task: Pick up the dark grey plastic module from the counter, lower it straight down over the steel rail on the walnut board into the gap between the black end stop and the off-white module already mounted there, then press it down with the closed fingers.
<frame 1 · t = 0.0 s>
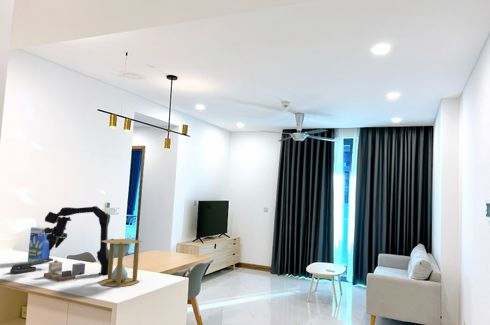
hand: (52, 248, 232), 15 cm above the worktop, tool pointing down, fingers open, 9 cm apart
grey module: (78, 273, 231), on the worktop
hourglass: (118, 282, 213), on the worktop
blue printed box: (38, 262, 262), on the worktop
dark grey stapler: (31, 271, 235), on the worktop
rail board: (59, 277, 220), on the worktop
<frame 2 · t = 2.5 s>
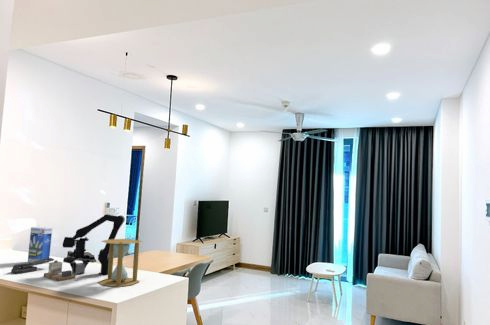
hand: (78, 271, 231), 1 cm above the worktop, tool pointing down, fingers closed on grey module, 6 cm apart
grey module: (78, 273, 231), on the worktop, touching gripper
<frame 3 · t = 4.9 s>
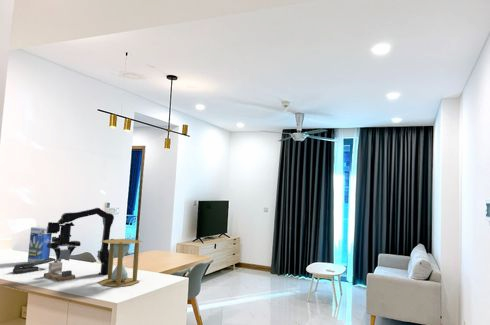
hand: (62, 258, 220), 12 cm above the worktop, tool pointing down, fingers closed on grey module, 6 cm apart
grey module: (62, 260, 220), point 11 cm above the worktop, touching gripper
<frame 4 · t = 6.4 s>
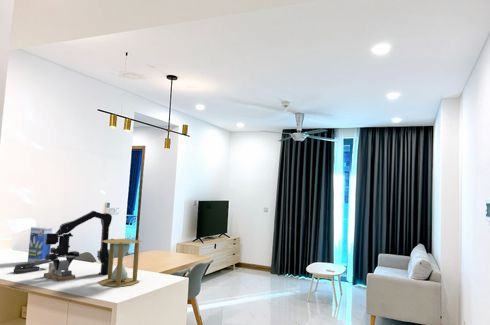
hand: (61, 269, 219), 5 cm above the worktop, tool pointing down, fingers closed on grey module, 6 cm apart
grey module: (61, 271, 219), point 4 cm above the worktop, touching gripper
when the fingers open (5 cm above the worktop, at t = 7.4 s): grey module drops 2 cm, resting on rail board.
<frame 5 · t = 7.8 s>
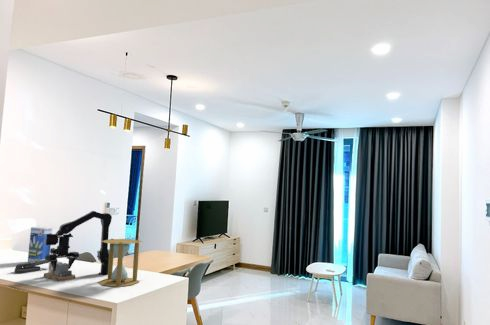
hand: (61, 270, 219), 5 cm above the worktop, tool pointing down, fingers open, 9 cm apart
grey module: (61, 274, 219), point 2 cm above the worktop, touching rail board
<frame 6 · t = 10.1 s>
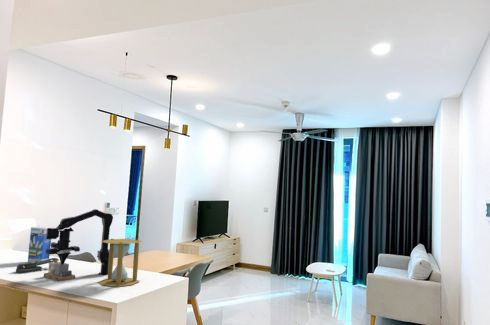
hand: (62, 264, 219), 8 cm above the worktop, tool pointing down, fingers closed, pressing on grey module
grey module: (61, 274, 219), point 2 cm above the worktop, touching gripper, rail board
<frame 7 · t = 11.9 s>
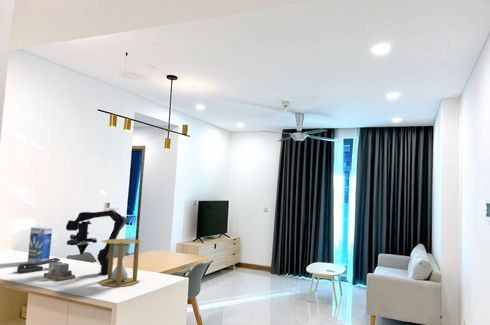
hand: (81, 254, 235), 12 cm above the worktop, tool pointing down, fingers closed
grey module: (61, 274, 219), point 2 cm above the worktop, touching rail board
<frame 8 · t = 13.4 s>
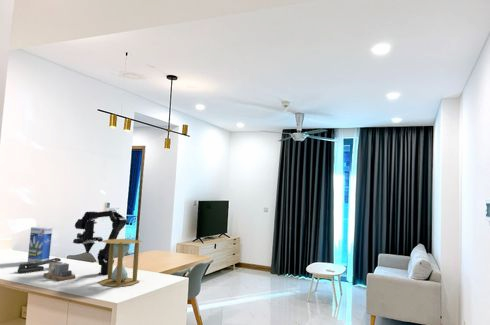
hand: (87, 253, 241), 12 cm above the worktop, tool pointing down, fingers closed
at the end: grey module 0.1 cm from the target spot on the rail board, point 2.0 cm above the rail board's base; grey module tilted 0°; the gripper is holding nothing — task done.
